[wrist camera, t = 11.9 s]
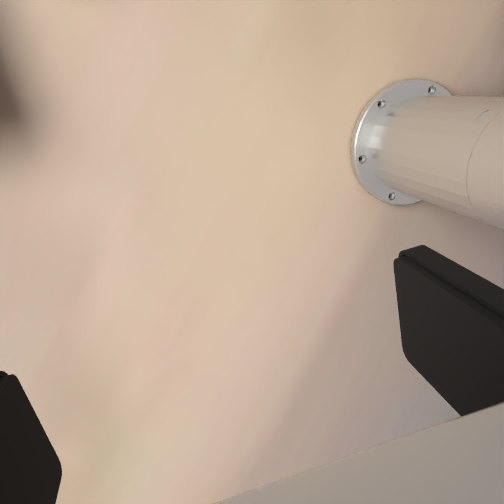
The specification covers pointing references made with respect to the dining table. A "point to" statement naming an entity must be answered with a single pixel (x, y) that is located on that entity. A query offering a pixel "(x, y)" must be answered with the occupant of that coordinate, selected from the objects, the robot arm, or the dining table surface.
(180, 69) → the dining table surface
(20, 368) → the dining table surface
